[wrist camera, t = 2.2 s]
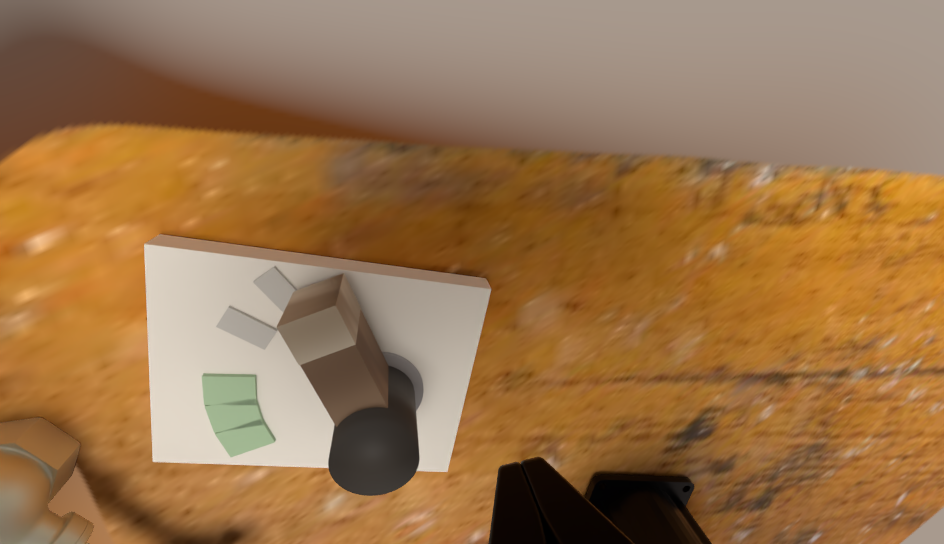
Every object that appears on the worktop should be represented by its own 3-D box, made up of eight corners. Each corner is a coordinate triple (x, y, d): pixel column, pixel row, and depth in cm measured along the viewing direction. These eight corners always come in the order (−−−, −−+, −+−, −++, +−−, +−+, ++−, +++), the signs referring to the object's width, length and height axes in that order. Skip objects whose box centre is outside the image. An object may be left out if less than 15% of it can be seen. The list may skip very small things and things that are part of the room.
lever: (424, 410, 20) (431, 476, 17) (357, 435, 20) (351, 507, 17) (358, 267, 17) (350, 312, 14) (279, 296, 17) (251, 348, 14)
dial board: (486, 278, 20) (492, 291, 19) (444, 454, 24) (447, 475, 22) (159, 234, 17) (141, 245, 16) (165, 442, 21) (150, 465, 19)
